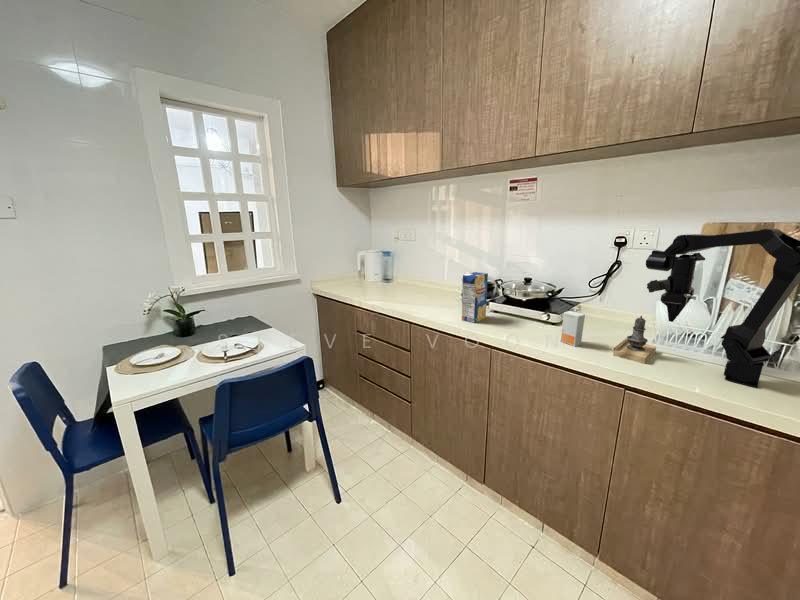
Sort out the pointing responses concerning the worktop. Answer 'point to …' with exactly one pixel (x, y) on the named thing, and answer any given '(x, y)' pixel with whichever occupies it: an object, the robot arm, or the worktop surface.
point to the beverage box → (474, 296)
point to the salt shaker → (637, 336)
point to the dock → (634, 352)
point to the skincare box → (572, 328)
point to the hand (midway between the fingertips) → (673, 318)
